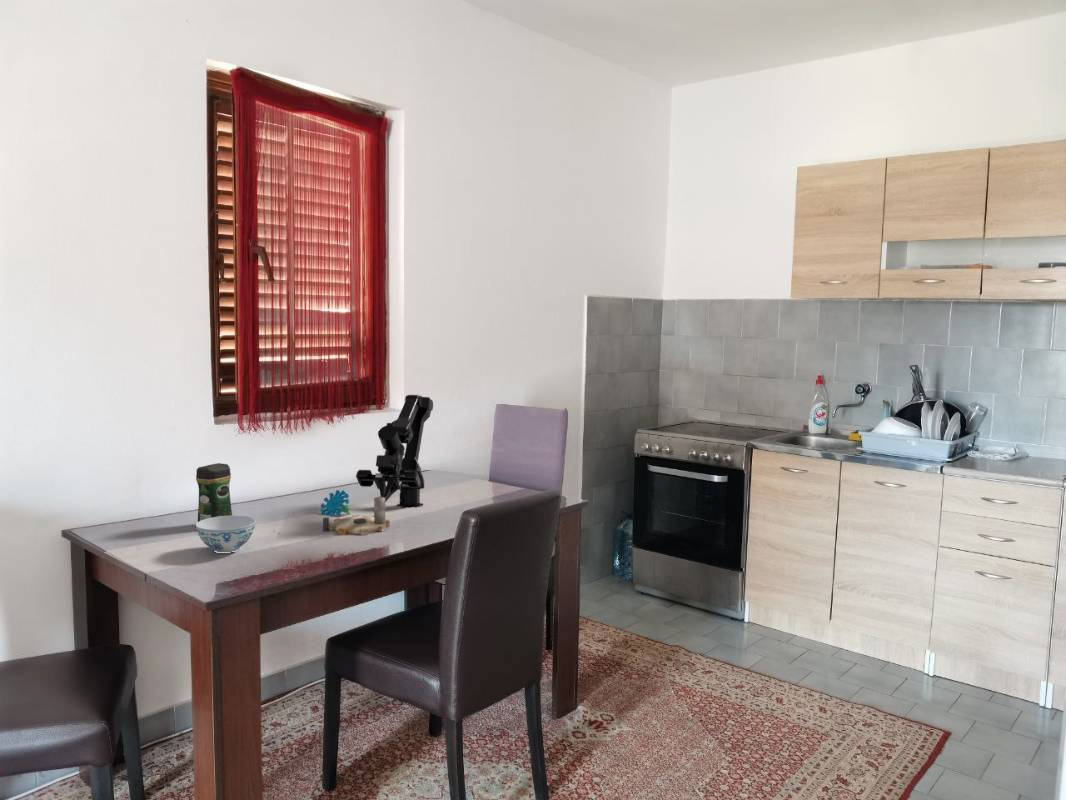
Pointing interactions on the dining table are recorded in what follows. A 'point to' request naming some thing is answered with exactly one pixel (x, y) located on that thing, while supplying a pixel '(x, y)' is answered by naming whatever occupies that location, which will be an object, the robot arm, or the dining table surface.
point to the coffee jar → (214, 491)
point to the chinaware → (226, 532)
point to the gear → (336, 504)
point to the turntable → (363, 521)
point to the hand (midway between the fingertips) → (382, 502)
